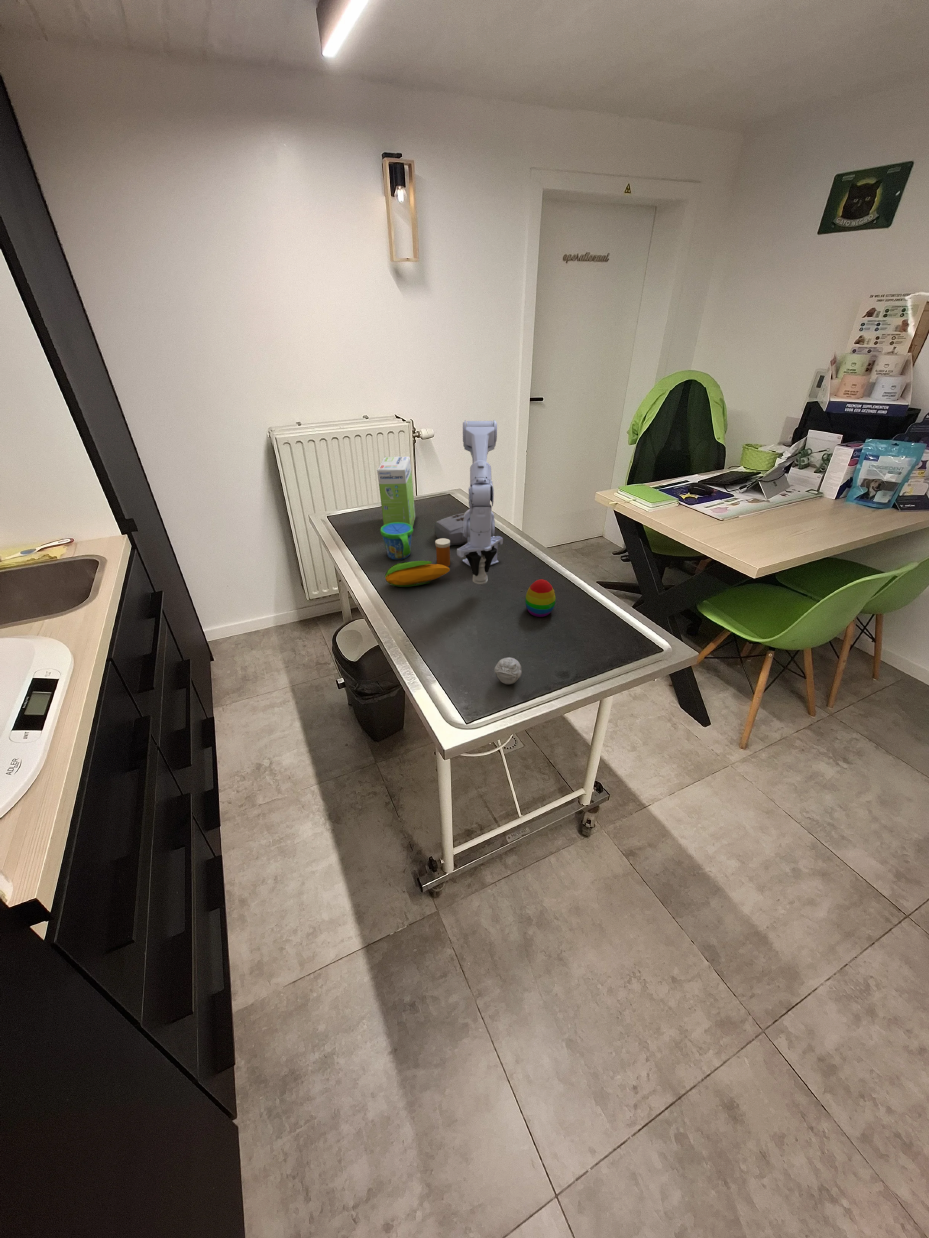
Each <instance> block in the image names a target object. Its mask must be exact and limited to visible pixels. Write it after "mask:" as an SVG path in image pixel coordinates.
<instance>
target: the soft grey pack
mask: <svg viewBox="0 0 929 1238" xmlns="http://www.w3.org/2000/svg"><path fill="white" fill-rule="evenodd" d="M464 514H465V512H464V513H456V514H453V515H450V516H447V517H444V518H441V519H439V520H437V521H436V522H435V523H434V529H433V530H434V534H435V535H436V538H437V539H440V538H446V539H449V540H450V546H460V545H465V544H467V543H468V540H467V538H465V536H464Z"/></svg>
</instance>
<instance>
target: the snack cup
mask: <svg viewBox="0 0 929 1238" xmlns="http://www.w3.org/2000/svg"><path fill="white" fill-rule="evenodd" d="M379 531H380V535H381V536H382V539H383V543H384V547H385V552H386V554H387V557H388V558H389V559H391V560H392V561H394V560H397V561H400V560H403V561H404V560H405V559H407V558H408V557H409V556H410V555H411V552H412V551H411V547H412V546H411V545H412V535H413V532H414V528H412V526H411V525H410V524H408V523H403V522H393V523H388V524H386V525H384V524H383V525H382V526H381V527H380V529H379Z"/></svg>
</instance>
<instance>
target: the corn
mask: <svg viewBox="0 0 929 1238" xmlns="http://www.w3.org/2000/svg"><path fill="white" fill-rule="evenodd" d="M450 571H451V568H450V567H449V566H448V567H446V566H444V565H440V564H437V563H433V561H431V560H414V561H413V560H412V561H404V562H403V561H402V562H399V563H395V564H393V565H391V566H390V567H389V568H388V569H387V570H386V571H385V575H384V578H385V581H386V582H387V583H388V584H389V585H390V586H393V587H397V588H409V587H415V586H416V587H417V586H423V585H426V584H430V583H431V581H434V580H437V579H439V578H441V577H442V576H445V575H446V574H447V573H449V572H450Z"/></svg>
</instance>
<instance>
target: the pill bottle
mask: <svg viewBox="0 0 929 1238" xmlns="http://www.w3.org/2000/svg"><path fill="white" fill-rule="evenodd" d="M434 545H435V553H436V557H435V558H436V564H440V565H444V566H446V567H449V566H450V565H451V548H450V546H451V545H450V540H449V539H446V538H440V539H438V538H437V539H435V541H434Z"/></svg>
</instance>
